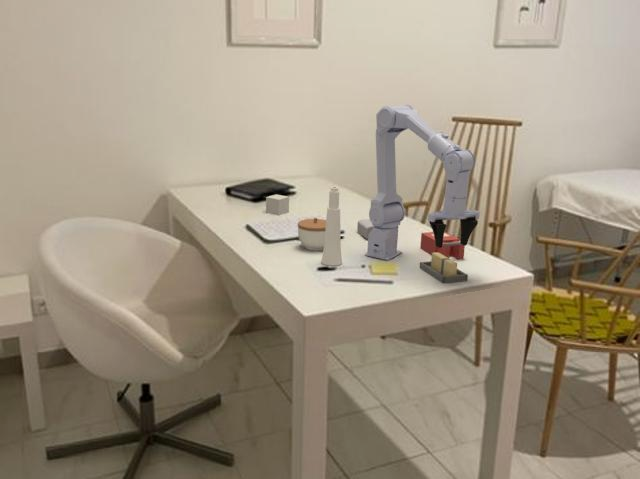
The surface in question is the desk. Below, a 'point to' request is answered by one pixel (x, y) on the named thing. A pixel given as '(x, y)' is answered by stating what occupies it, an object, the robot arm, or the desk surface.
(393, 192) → the robot arm
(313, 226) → the lidded jar
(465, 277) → the ticket tray
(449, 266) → the wooden blocks
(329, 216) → the cosmetic bottle
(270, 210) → the light gray cube
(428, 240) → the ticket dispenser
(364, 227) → the charger
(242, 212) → the desk surface
